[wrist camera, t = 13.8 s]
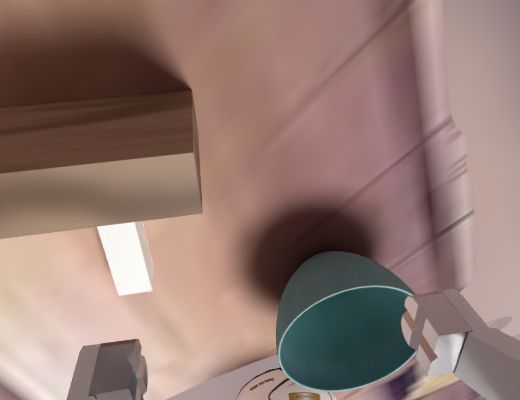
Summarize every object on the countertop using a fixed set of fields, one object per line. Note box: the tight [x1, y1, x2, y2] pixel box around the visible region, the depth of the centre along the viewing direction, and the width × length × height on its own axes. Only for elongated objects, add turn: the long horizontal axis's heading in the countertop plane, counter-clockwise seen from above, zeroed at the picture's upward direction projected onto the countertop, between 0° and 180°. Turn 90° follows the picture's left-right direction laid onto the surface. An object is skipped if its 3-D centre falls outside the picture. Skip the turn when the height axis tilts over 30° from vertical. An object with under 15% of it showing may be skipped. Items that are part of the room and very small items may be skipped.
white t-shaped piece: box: [97, 221, 155, 296], centre depth 45 cm, size 17×8×6 cm, turn 3°
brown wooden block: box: [0, 90, 203, 239], centre depth 35 cm, size 8×20×16 cm, turn 93°
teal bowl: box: [276, 251, 417, 392], centre depth 52 cm, size 18×18×12 cm
